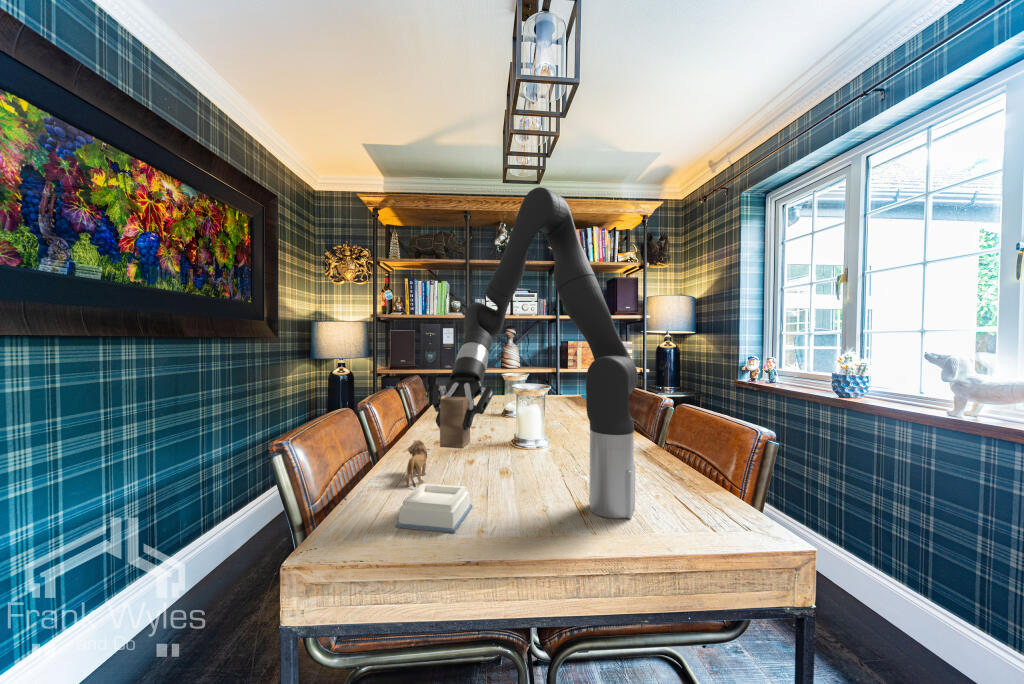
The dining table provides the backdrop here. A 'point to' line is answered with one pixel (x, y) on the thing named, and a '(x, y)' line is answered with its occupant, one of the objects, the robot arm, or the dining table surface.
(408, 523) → the pedestal base
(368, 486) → the dining table surface
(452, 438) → the walnut column
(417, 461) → the lion figurine
